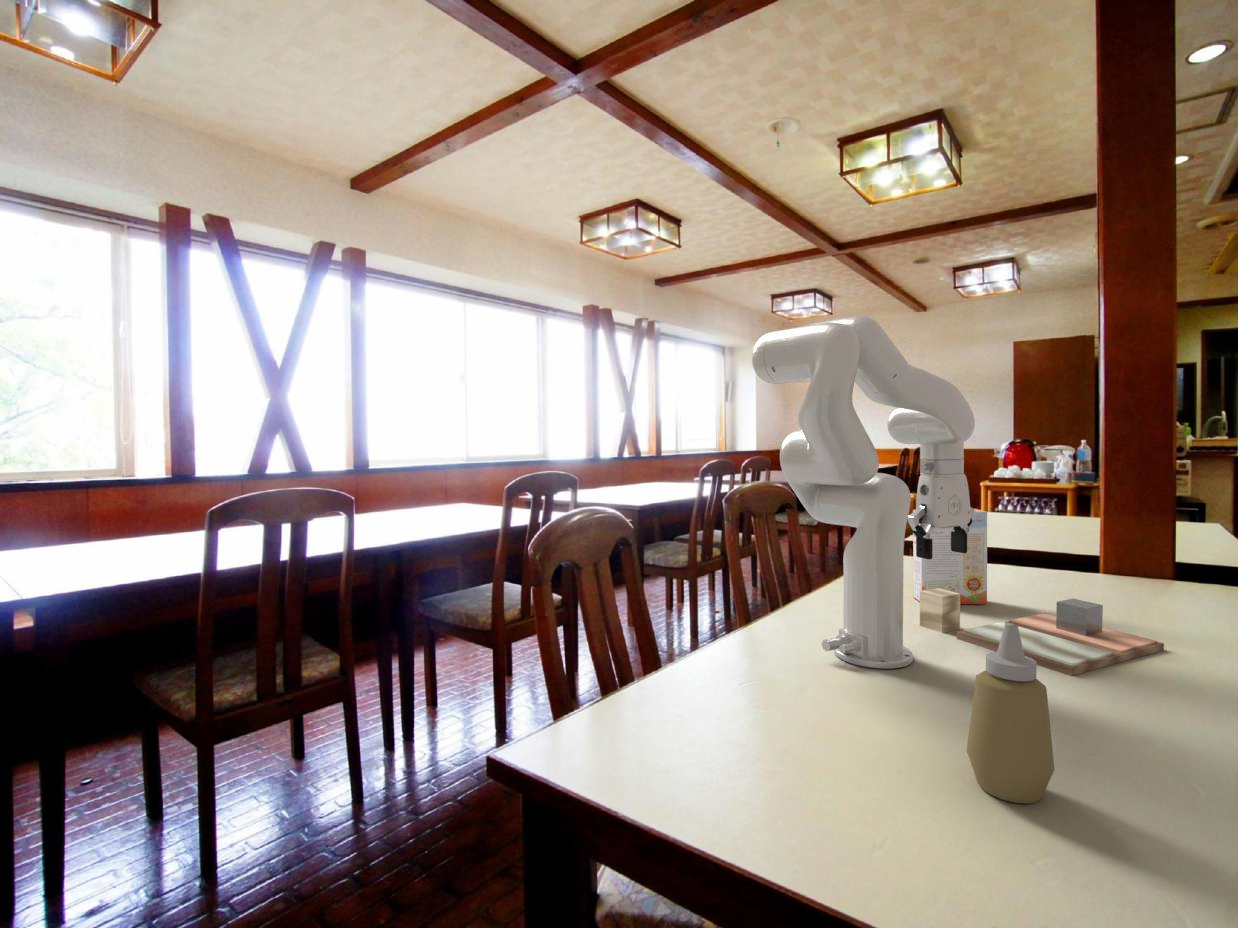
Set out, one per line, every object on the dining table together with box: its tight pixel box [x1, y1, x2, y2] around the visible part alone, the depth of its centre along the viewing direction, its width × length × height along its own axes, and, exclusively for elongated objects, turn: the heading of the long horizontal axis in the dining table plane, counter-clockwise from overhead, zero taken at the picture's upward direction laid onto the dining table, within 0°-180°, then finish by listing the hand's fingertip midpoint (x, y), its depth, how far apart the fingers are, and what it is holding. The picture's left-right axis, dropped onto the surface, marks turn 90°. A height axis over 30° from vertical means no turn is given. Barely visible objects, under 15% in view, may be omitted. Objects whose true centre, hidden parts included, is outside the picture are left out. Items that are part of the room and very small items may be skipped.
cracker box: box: [912, 508, 988, 605], centre depth 140 cm, size 14×6×21 cm, turn 84°
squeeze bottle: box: [966, 623, 1055, 805], centre depth 67 cm, size 8×8×18 cm
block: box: [919, 588, 961, 634], centre depth 122 cm, size 5×5×7 cm
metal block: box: [1055, 598, 1104, 636], centre depth 114 cm, size 5×5×5 cm
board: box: [956, 612, 1165, 677], centre depth 112 cm, size 26×20×2 cm
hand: (941, 554), depth 122 cm, fingers open, 9 cm apart
